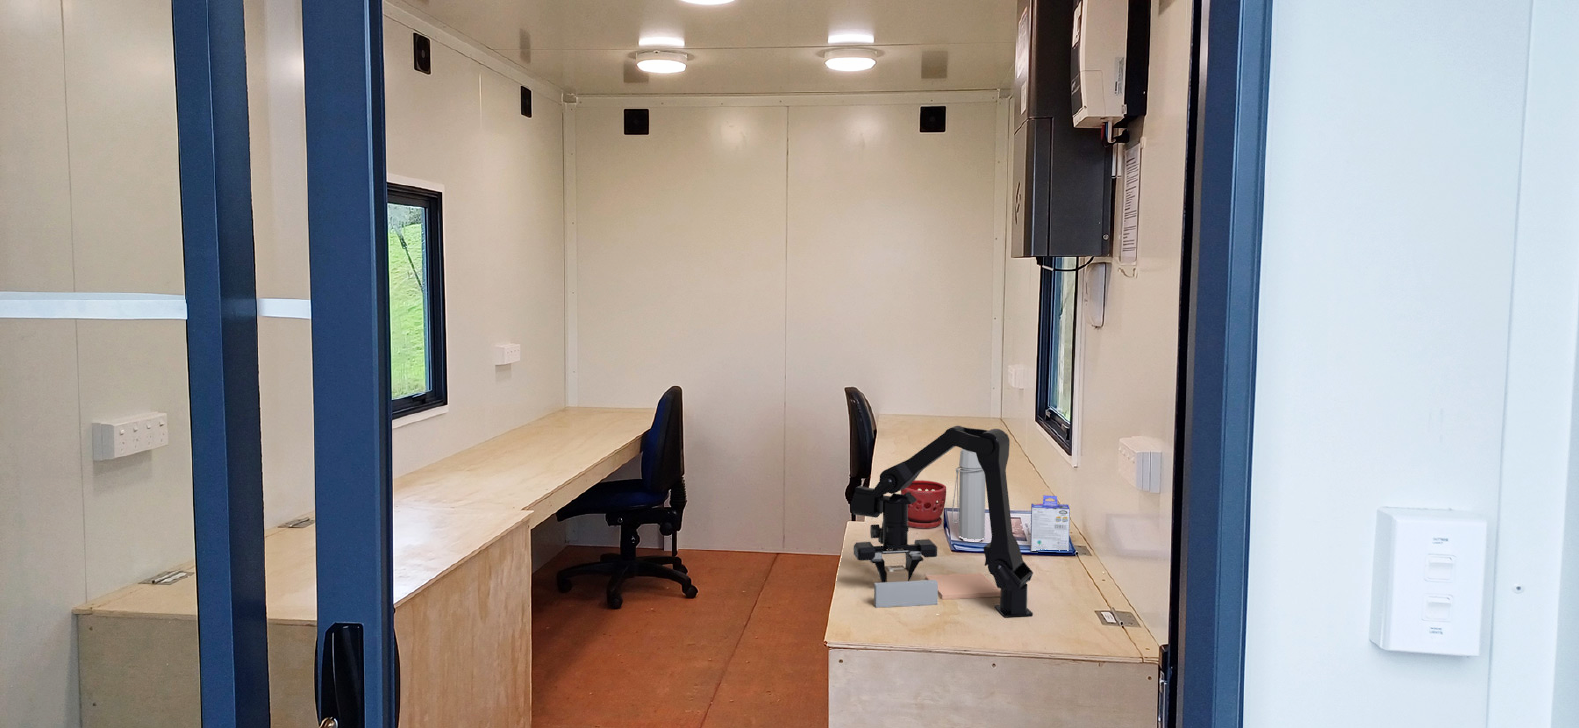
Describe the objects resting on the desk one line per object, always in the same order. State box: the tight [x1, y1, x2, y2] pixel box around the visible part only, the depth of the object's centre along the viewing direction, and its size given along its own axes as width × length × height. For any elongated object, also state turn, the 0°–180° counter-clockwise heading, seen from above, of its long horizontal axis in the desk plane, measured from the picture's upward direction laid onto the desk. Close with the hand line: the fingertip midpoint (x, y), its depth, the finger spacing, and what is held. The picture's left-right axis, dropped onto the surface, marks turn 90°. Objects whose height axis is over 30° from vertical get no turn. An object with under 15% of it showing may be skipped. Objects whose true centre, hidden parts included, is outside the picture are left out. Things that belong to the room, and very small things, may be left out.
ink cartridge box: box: [1030, 494, 1071, 552], centre depth 254 cm, size 10×6×14 cm, turn 78°
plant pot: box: [900, 479, 947, 529], centre depth 280 cm, size 13×13×12 cm
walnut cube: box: [885, 564, 908, 582], centre depth 224 cm, size 5×5×5 cm
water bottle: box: [951, 448, 986, 540], centre depth 264 cm, size 9×8×25 cm
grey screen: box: [873, 579, 939, 609], centre depth 214 cm, size 2×14×5 cm, turn 98°
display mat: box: [924, 572, 1000, 600], centre depth 225 cm, size 14×14×1 cm
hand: (894, 585), depth 224 cm, fingers closed on walnut cube, 5 cm apart
